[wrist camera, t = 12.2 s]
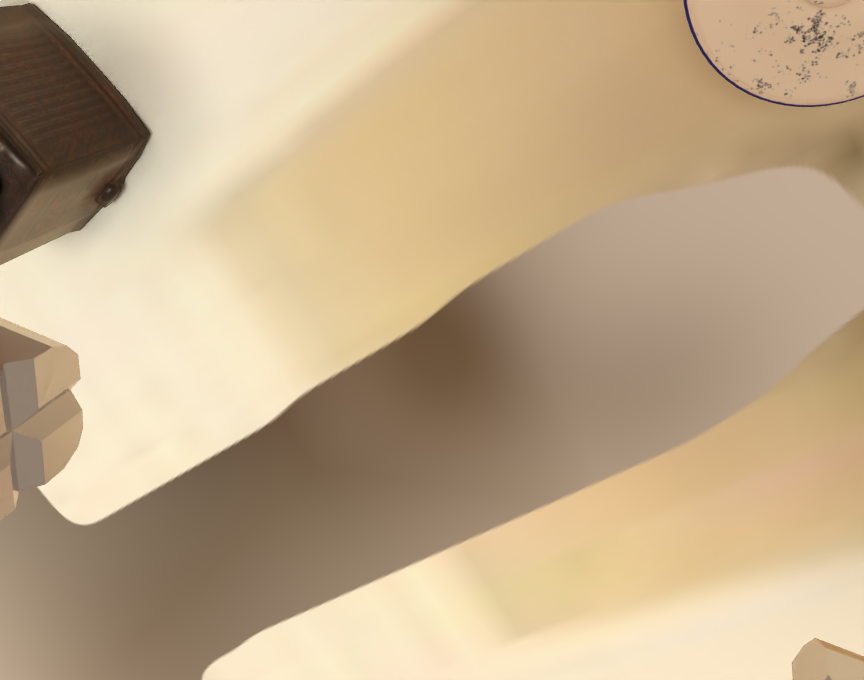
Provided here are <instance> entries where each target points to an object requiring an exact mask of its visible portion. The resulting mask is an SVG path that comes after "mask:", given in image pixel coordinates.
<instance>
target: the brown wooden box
mask: <svg viewBox="0 0 864 680" xmlns="http://www.w3.org/2000/svg"><path fill="white" fill-rule="evenodd" d="M148 137H149V132H148V131H147V129H146V128H145V127H144V125H143V124H142V122H141V121H140V119H139V118H138V117H137V115H136V114H135V112H134V111H133V110H132V108H131V107H130V105H129V104H128V102H127V101H126V100H125V98H124V97H123V96H122V95H121V94H120V93H119V92H118V90H117V89H116V88H115V87H114V86H113V85H112V84H111V82H110V81H109V80H108V79H107V78H106V77H105V76H104V75H103V73H102V72H101V71H100V70H99V69H98V68H97V67H96V65H95V64H94V63H93V62H92V61H91V60H90V59H89V58H88V56H87V55H86V54H85V53H84V52H83V51H82V50H81V49H80V47H79V46H78V45H77V44H76V43H75V42H74V41H73V40H72V38H71V37H70V36H69V35H67V34H66V33H65V32H64V31H63V30H62V29H61V28H60V27H59V26H57V25H56V24H55V23H54V22H53V21H52V20H51V19H50V18H49V17H47V16H46V15H45V14H44V13H43V12H42V11H41V10H40V9H38V8H37V7H36V6H35V5H33V4H30V3H28V4H25V5H18V6H7V7H0V265H1V264H3V263H6V262H8V261H10V260H12V259H14V258H16V257H18V256H20V255H23V254H25V253H27V252H29V251H31V250H33V249H35V248H37V247H39V246H41V245H44V244H46V243H48V242H50V241H52V240H54V239H56V238H59V237H61V236H63V235H65V234H67V233H69V232H73V231H79V230H81V229H82V228H83V227H84V225H85V224H86V223H87V222H88V221H89V220H90V219H91V218H92V217H93V216H94V215H95V214H96V213H97V212H98V211H99V210H100V209H101V208H102V207H107V206H108V205H110V204H111V203H112V202H113V200H114V199H115V198H116V197H117V195H118V193H119V192H120V190H121V189H122V184H123V182H124V178H125V177H126V175H127V174H128V172H129V171H130V169H131V168H132V167H133V165H134V164H135V162H136V161H137V159H138V158H139V157H140V154H141V152H142V150H143V148H144V145H145V143H146V141H147V139H148Z"/></svg>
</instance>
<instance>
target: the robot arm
mask: <svg viewBox="0 0 864 680" xmlns="http://www.w3.org/2000/svg"><path fill="white" fill-rule="evenodd" d="M80 379H81V378H80V369H79V359H78V354H77V353H75V352H74V351H73V350H72V349H70V348H69V347H68V346H66V345H64V344H61V343H59V342H57V341H54V340H52V339H50V338H47V337H45V336H42V335H40V334H38V333H35V332H33V331H31V330H28V329H26V328H24V327H21V326H19V325H16V324H14V323H12V322H9V321H7V320H5V319H2V318H0V521H1V520H2V519H4V518H5V517H6V516H7V515H8V514H10V513H11V512H12V511H13V510H15V507H16V502H17V498H18V493H19V491H23V490H27V489H30V488H34V487H38V486H41V485H45V484H46V483H48V482H49V481H50V480H51V479H52V478H53V477H55V476H56V475H57V474H58V473H59V472H60V471H62V470H63V469H64V468H65V466H66V465H67V463H68V462H69V460H70V458H71V457H72V455H73V454H74V452H75V451H76V449H77V447H78V445H79V441H80V437H81V433H82V429H83V413H82V409H81V407H80V405H79V404H78V402H77V400H76V399H75V397H74V395H73V394H72V392H71V390H70V389H71V388H72V387H73V386H74V385H75V384H76V383H77V382H78V381H79V380H80ZM792 673H793V680H864V656H861V655H858V654H856V653H853V652H850V651H848V650H845V649H843V648H840V647H837V646H835V645H832V644H830V643H827V642H824V641H822V640H819V639H816V638H814V639H813V640H811V641H810V642H808V643H807V644H805V645H804V646H803V648H802V649H801V650H800V652H799V653H798V655H797V656H796V658H795V659H794V660H793V662H792Z"/></svg>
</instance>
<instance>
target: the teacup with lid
mask: <svg viewBox="0 0 864 680" xmlns="http://www.w3.org/2000/svg"><path fill="white" fill-rule="evenodd" d="M684 7H685V11H686V16H687V20H688V23H689V26H690V29H691V32H692V34H693V37H694V39H695V41H696V43H697V45H698V47H699V48H700V50H701V52H702V54H703V55H704V56H705V58H706V59H707V60H708V62H709V63H710V64H711V65H712V67H713V68H714V69H715V70H716V71H717V72H718V73H719V74H720V75H721V76H723V77H724V78H725V79H726V80H727V81H728V82H730V83H731V84H733V85H734V86H735V87H737V88H739V89H740V90H742V91H744V92H746V93H748V94H750V95H752V96H754V97H757V98H759V99H762V100H765V101H768V102H772V103H776V104H781V105H787V106H797V107H816V106H827V105H833V104H839V103H843V102H847V101H851V100H855V99H858V98H861V97H863V96H864V0H684Z"/></svg>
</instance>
